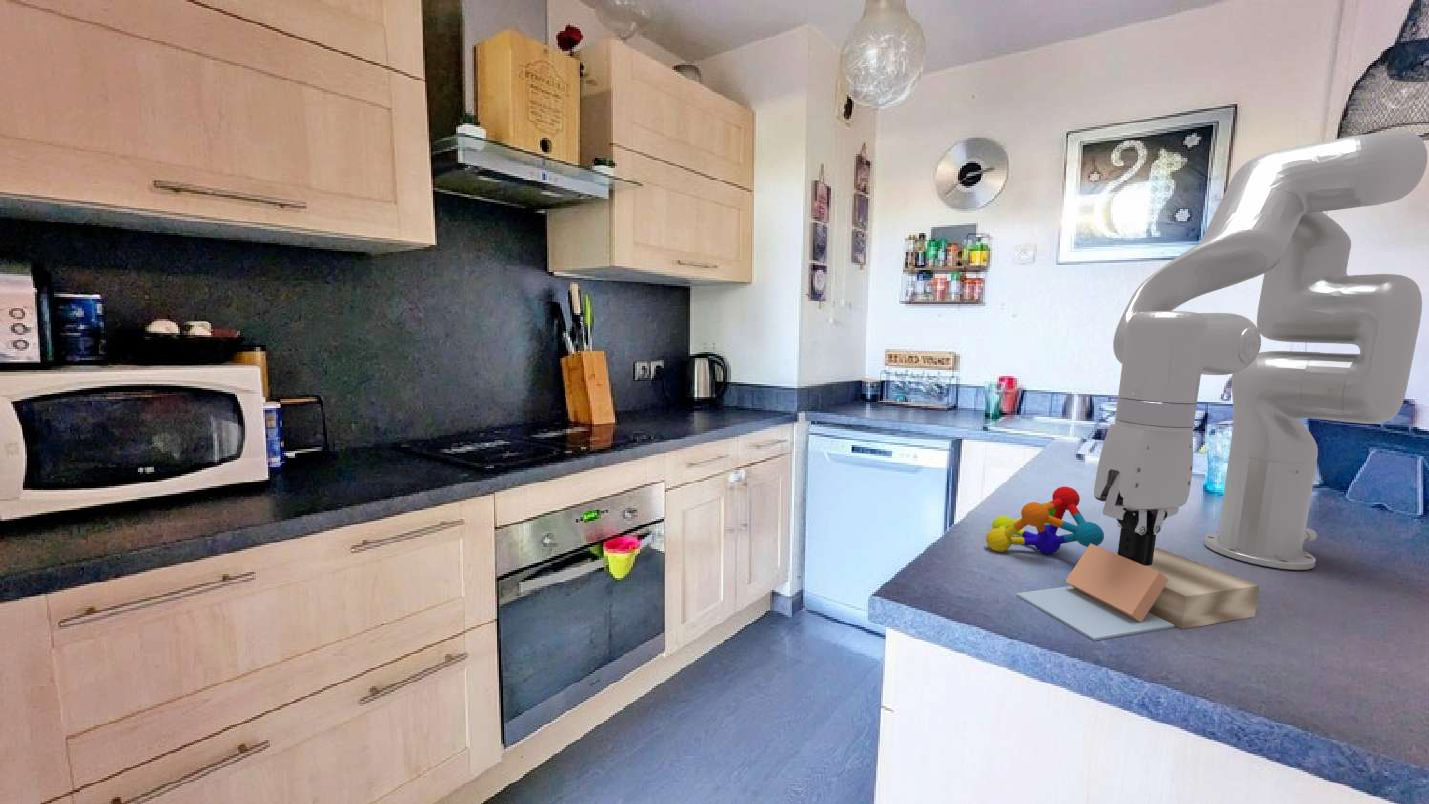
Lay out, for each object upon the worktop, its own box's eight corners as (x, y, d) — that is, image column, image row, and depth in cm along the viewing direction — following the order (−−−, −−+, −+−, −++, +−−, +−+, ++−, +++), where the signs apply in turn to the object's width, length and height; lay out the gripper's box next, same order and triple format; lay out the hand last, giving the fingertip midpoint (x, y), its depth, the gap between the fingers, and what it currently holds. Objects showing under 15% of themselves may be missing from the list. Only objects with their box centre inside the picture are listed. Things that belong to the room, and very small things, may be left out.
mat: (1088, 585, 76) (1088, 583, 76) (1174, 627, 66) (1174, 624, 66) (1016, 595, 73) (1016, 593, 73) (1093, 640, 63) (1094, 638, 63)
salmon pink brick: (1099, 550, 75) (1090, 543, 74) (1168, 580, 66) (1159, 571, 66) (1074, 588, 75) (1065, 581, 74) (1141, 622, 66) (1131, 614, 66)
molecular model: (1003, 584, 84) (1115, 555, 78) (976, 524, 84) (1086, 491, 79) (992, 548, 98) (1087, 522, 92) (969, 497, 98) (1062, 468, 93)
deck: (1154, 574, 80) (1158, 547, 80) (1254, 616, 69) (1259, 585, 68) (1088, 583, 77) (1091, 555, 76) (1181, 629, 66) (1186, 596, 65)
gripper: (1168, 411, 74) (1149, 546, 76) (1077, 410, 70) (1060, 554, 72) (1234, 420, 66) (1211, 569, 69) (1137, 420, 62) (1116, 579, 65)
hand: (1134, 561), depth 70 cm, fingers closed
